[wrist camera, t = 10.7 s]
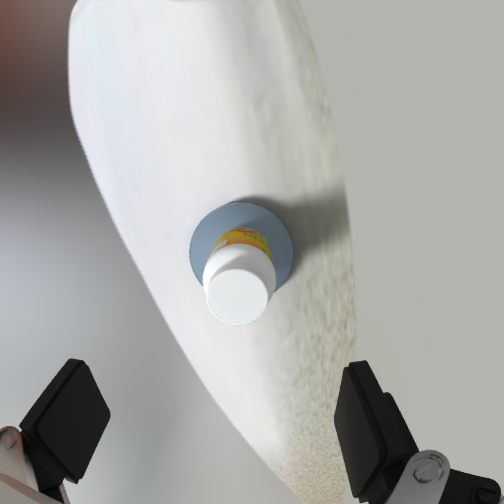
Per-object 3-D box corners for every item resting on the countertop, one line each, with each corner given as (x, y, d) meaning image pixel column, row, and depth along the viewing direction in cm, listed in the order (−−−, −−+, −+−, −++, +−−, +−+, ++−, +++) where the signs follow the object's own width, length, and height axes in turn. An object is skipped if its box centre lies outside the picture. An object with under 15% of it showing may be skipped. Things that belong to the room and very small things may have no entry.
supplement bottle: (282, 251, 27) (298, 295, 18) (245, 291, 28) (242, 347, 19) (239, 214, 26) (232, 239, 17) (202, 256, 27) (179, 300, 18)
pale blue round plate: (188, 204, 27) (184, 206, 26) (290, 199, 27) (292, 201, 26) (198, 298, 30) (195, 304, 29) (291, 294, 30) (293, 300, 28)
